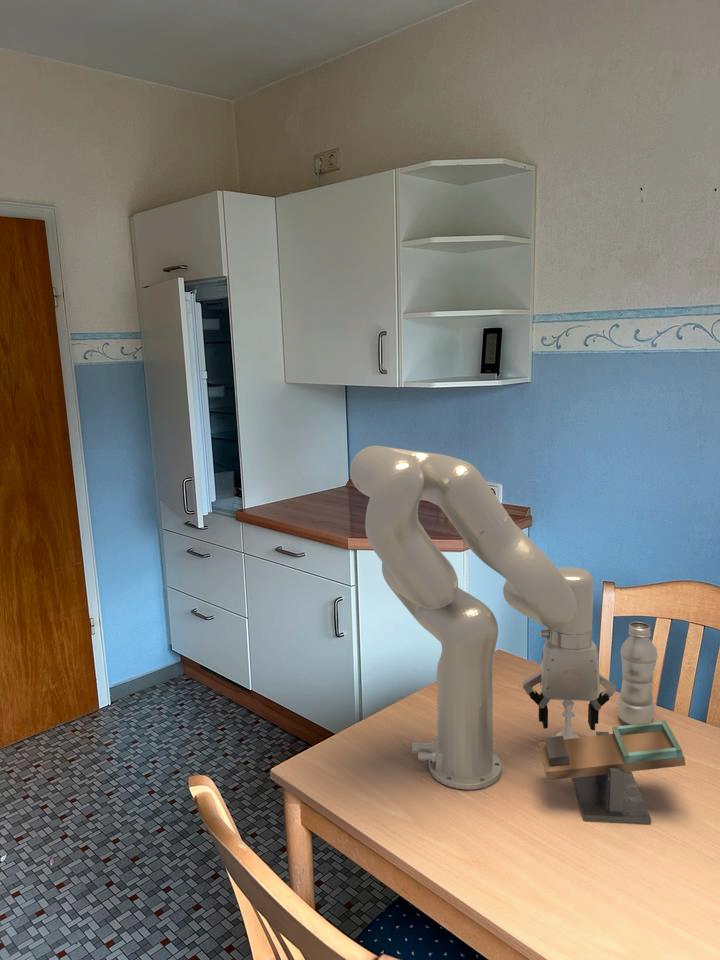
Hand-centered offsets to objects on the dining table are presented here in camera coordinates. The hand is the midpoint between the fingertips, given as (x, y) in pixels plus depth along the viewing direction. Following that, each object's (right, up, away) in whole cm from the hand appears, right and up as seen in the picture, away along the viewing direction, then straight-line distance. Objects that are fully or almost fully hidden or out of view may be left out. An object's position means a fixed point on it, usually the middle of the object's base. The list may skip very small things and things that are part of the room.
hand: (567, 725), depth 133 cm
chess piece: (0, -4, +1) cm, 4 cm away
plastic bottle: (+15, -2, +7) cm, 17 cm away
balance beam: (+2, +1, -17) cm, 17 cm away
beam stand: (+2, -6, -15) cm, 17 cm away
